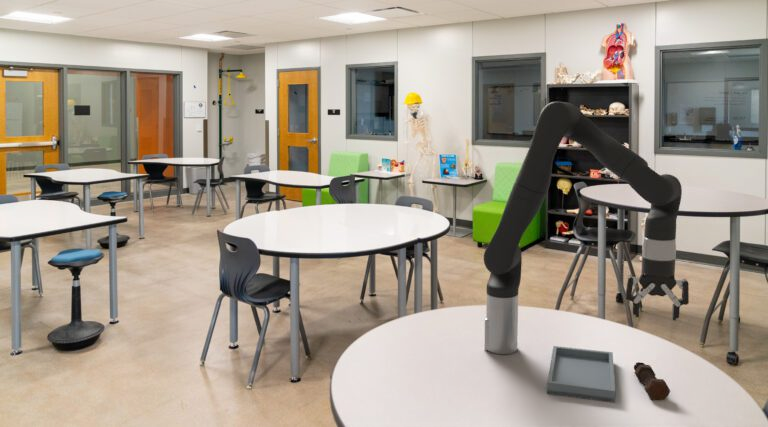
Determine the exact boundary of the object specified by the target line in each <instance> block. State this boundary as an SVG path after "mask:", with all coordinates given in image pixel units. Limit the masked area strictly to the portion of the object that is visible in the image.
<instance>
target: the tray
mask: <svg viewBox="0 0 768 427" xmlns="http://www.w3.org/2000/svg"><path fill="white" fill-rule="evenodd" d="M613 353H614V352H612V351H604V350H595V349H586V348H585V349H584V348H576V347H568V346H567V347H565V346H558V345H557V346H556V345H553V347H552V353H551V357H550V358H551V359H550V364H549V369H548V376H547V377H548V378H547V382H546V394H547V395H556V396H562V397H563V396H564V397H570V398H579V399H587V400H594V401H602V402H608V403H609V402H610V403H615V401H616V383H615V382H616V380H615V368H614V367H615V366H614V356H613V355H614V354H613Z"/></svg>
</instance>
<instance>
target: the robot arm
mask: <svg viewBox="0 0 768 427" xmlns="http://www.w3.org/2000/svg"><path fill="white" fill-rule="evenodd" d="M564 138H565V139H568V140H571V141H572V142H575V143H577V144H578V145H580V146H582V147H583V148H584V149H586V150H587V151H588V152H589V153H591V155H592V156H594V158H595V159H597V161H598V162H599V163H600V164H601V165H602V166H604V167H605V168H606V169H607V170H608V171H609V172H611V173H613V175H615V176H617V177H618V178H619V179H621V180H622V181H623V182H625V183H627V184H628V185H629V186H630V188H631V189H632V190H634V192H636V194H637V195H638V196H639V197H641V198H642V199H643V200H645V201H646V202H647V203H649V204H650V209H649V210H650V211H649V212H648V214H647V216H645V217H646V218H645V221H644V222H645V223H644V237H643V243H642V249H641V253H642V254H641V255H642V256H641V274H640V276H639V277H636V276H633V275H631V274H630V275H627V280H626V289H625V299H626V300H627V301H631V302H632V314H633V315H634V316H635V318H639V316H640V302H641V301H642V300H643V299H644V298H645V297H646V296H647V295H650V296H652V297H654V296H658V297H665V296H666V295H667V297H668V299H670V300H671V302H672V306H671V307H672V311H671V320H672V321H674V322H675V321H677V319H679V318H680V309H681V306H683V305H685V306H687V305H689V302H690V301H689V300H690V299H689V289H690V288H689V285H690V284H689V281H688V280H687V279H686V278H682V279H676V277H675V275H676V274H675V273H676V272H675V271H676V260H677V257H676V256H677V255H676V254H677V243H676V241H677V238H676V237H677V236H676V235H677V219H678V215H679V212H680V211H679V210H680V205H681V203H682V202H681V201H682V190H683V188H682V184H681V182H680V180H679V178H678V177H677V176H675V175H672V174H669V173H665V174H659V173H658V172H656V171H654V169H652V168H651V167H649V164H648V162H647V160H645V159H644V158H643V157H641V156H640V155H639V154H637V153H636V152H635V151H633V150H631V149H630V148H629V147H627V146H626V145H624V144H622V143H621V142H619V141H618V140H617V139H615V138H613V137H612V136H610V135H609V134H607V133H606V132H604V131H603V130H602V129H601V128H599V127H598V126H597V125H596V124H595V123H594V122H593V121H592V120H591V119H589V118H588V117H587V116H586V115H585V114H584V112H582V111H581V109H579V108H578V107H577V106H576V105H575V104H573V103H570V102H566V101H565V102H564V101H558V100H557V101H552V102H549V103H547V104H546V105H545V106H544V107H543V108H542V110H541V112H540V113H539V116H538V118H537V123H536V125H535V129H534V132H533V135H532V139H531V142H530V145H529V148H528V151H527V152H526V155H525V158H524V160H523V162H522V165H521V167H520V170H519V171H518V174H517V176H516V177H515V181H514V184H513V186H512V189H511V191H510V193H509V197H508V199H507V200H506V201H507V202H506V204H505V207H504V210H503V212H502V215H501V218H500V220H499V223H498V225H497V227H496V230H495V232H494V234H493V236H492V238H491V239H490V241H489V243H488V244H487V246H486V248H485V250H484V253H483V264H484V266H485V268H486V270H487V271H488V272H490V275H489V278H488V281H487V283H486V301H485V302H486V303H485V304H486V307H485V308H486V310H485V311H486V312H485V314H486V316H485V319H484V351H487V350H488V352H490V353H493V354H496V355H511V354H513V353H516V352H517V350H518V332H519V331H518V330H519V329H518V328H519V326H518V324H519V320H518V319H519V288H520V285H521V279H522V265H523V264H522V262H523V261H522V260H523V259H522V257H523V255H522V250H521V248H520V243H521V240H522V237H523V235H524V234H525V232H526V230H527V229H528V227H529V226H530V225H531V224H532V222H533V220H534V219H535V217H536V215H538V213H539V211H540V209H541V207H542V206H543V203H544V201H545V198H546V197H547V195H548V192H549V188H550V187H551V183H552V182H551V181H552V171H553V162H554V159H555V155H556V153H557V151H558V149H559V148H560V147H559V146H560V145H561V143H562V141H563V139H564ZM637 283H639V284H640V285H641V288H640V289H639V290H638V292H636V294H635V295H633V286H634V287H635V286H636V285H637ZM676 286H678V288H679V289H681V297H680V298H677V296H676V294H675V293H674V292H673V289H674V288H675V287H676Z"/></svg>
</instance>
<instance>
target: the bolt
mask: <svg viewBox="0 0 768 427" xmlns="http://www.w3.org/2000/svg"><path fill="white" fill-rule="evenodd" d="M633 370H634V375H635V376H636V377H637V379H638V381H639V383H643V384H644V385H645V386H644V391H645V392H646V394H647V396H648V398H649V400H651V401H657V402H658V401H659V402H660V401H662V402H663V401H665V400H666V399H667V398H668V397H669V395H670V393H671V389H670V388H669V386H668V384H667V382H666V381H665V380H664V379H663V378H657V377H656V373H655V371H654V370H653V367H651V365H650V364H646V363H644V362H636V363H635V364H634V366H633Z"/></svg>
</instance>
